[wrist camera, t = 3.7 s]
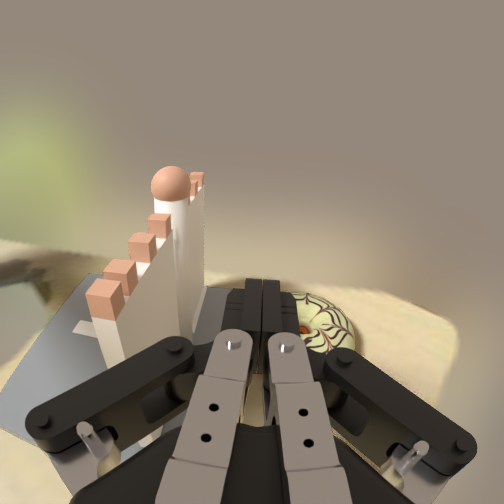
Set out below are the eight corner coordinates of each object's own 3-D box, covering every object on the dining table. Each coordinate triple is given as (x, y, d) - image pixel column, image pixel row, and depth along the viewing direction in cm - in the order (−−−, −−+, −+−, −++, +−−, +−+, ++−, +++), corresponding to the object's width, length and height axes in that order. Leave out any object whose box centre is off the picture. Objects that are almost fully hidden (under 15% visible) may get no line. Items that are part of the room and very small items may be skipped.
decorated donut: (280, 405, 23) (287, 377, 22) (224, 328, 31) (225, 299, 30) (368, 361, 28) (380, 333, 26) (306, 303, 36) (311, 276, 34)
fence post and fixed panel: (162, 352, 26) (144, 170, 19) (187, 284, 36) (186, 145, 29) (192, 357, 26) (185, 171, 19) (210, 287, 36) (214, 146, 29)
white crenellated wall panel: (169, 354, 26) (155, 210, 20) (182, 356, 26) (172, 211, 20) (140, 446, 17) (85, 293, 11) (156, 450, 17) (110, 297, 11)
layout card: (-12, 421, 16) (-15, 416, 15) (89, 277, 37) (88, 272, 37) (216, 496, 15) (216, 493, 15) (241, 293, 37) (241, 289, 36)
